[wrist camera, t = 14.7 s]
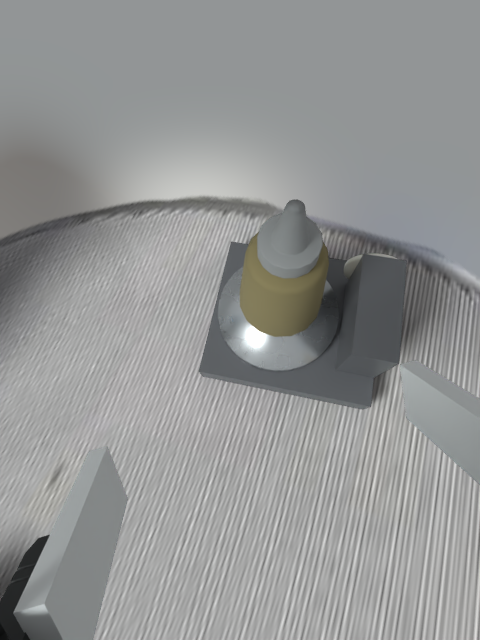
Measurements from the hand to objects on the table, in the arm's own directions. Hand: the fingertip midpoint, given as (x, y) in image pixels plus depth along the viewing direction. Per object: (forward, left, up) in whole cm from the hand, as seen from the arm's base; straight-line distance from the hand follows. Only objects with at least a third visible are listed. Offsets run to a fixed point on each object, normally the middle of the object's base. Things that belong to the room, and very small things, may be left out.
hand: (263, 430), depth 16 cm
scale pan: (-1, +13, -21) cm, 25 cm away
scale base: (+1, +13, -24) cm, 28 cm away
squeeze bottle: (-1, +13, -20) cm, 24 cm away
